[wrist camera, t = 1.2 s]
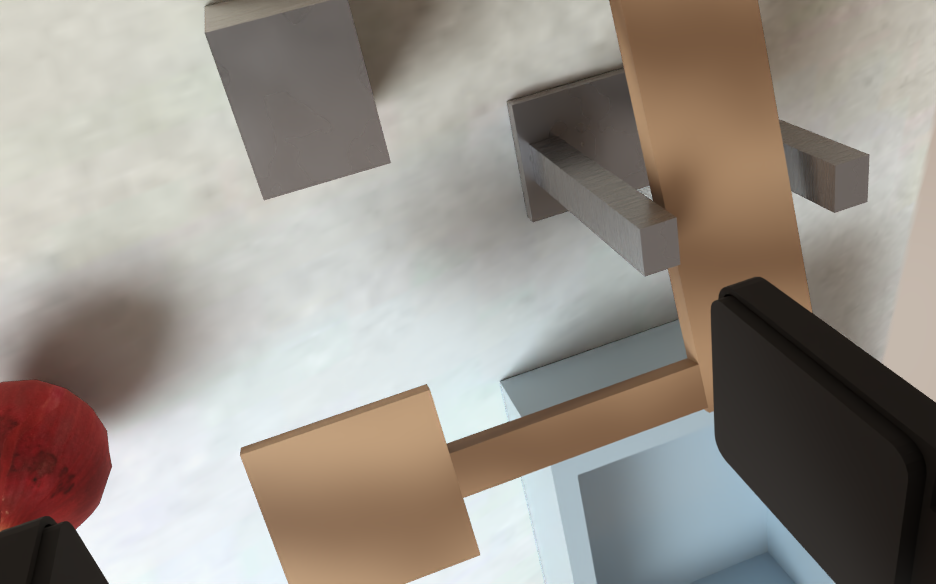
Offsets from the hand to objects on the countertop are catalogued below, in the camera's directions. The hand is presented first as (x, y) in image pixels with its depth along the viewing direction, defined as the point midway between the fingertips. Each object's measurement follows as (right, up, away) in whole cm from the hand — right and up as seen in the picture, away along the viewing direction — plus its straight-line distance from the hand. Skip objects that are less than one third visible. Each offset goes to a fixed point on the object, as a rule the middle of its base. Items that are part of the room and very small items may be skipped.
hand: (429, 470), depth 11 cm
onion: (-16, -2, +20) cm, 26 cm away
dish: (+10, -7, +31) cm, 33 cm away
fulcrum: (+7, +9, +22) cm, 25 cm away
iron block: (-6, +11, +17) cm, 21 cm away
